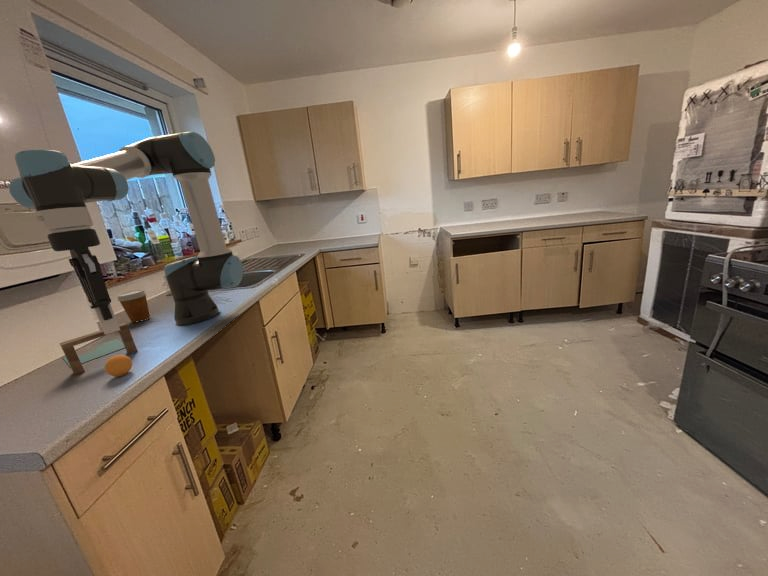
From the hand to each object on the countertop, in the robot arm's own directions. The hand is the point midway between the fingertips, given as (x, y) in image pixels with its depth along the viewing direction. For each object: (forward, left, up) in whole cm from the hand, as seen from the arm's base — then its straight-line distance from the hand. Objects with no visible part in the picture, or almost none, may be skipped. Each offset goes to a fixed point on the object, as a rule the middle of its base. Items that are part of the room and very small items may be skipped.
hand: (112, 331), depth 72 cm
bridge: (0, -26, -14) cm, 30 cm away
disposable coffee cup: (-19, -64, -15) cm, 68 cm away
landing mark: (0, -40, -14) cm, 43 cm away
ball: (0, -10, -12) cm, 15 cm away
